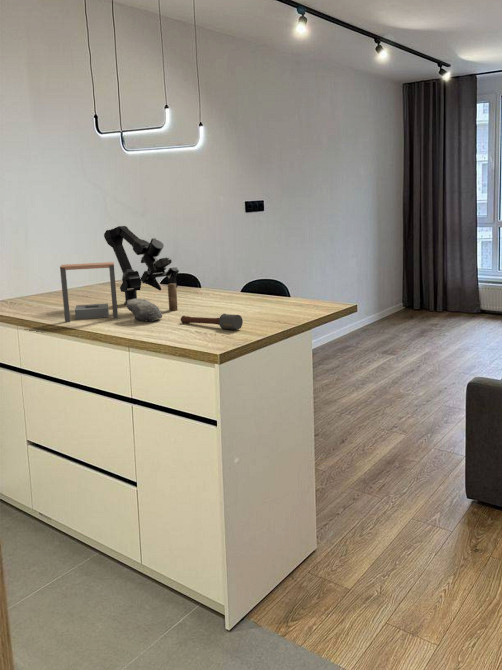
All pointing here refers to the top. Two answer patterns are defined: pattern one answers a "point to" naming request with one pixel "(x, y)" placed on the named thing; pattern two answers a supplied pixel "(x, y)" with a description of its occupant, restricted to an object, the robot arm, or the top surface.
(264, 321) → the top surface
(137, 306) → the rock
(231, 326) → the mallet
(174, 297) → the peg
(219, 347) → the top surface
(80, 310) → the socket stand
